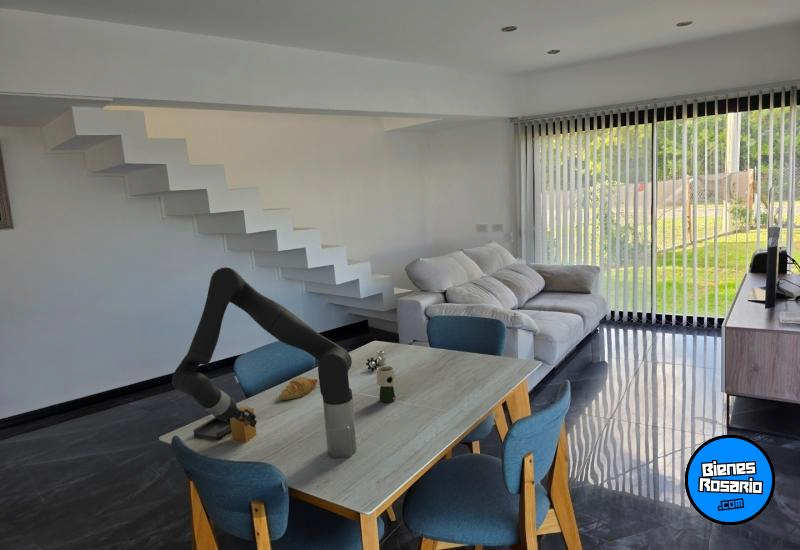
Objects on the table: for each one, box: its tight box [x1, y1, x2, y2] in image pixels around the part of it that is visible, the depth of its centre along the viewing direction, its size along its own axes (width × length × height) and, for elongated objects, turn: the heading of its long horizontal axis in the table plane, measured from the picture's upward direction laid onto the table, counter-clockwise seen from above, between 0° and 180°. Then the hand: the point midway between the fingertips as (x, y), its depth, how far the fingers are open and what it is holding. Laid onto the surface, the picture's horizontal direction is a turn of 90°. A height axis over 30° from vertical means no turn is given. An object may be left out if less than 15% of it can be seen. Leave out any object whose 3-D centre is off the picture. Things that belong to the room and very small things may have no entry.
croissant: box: [277, 377, 318, 401], centre depth 229 cm, size 21×10×8 cm, turn 145°
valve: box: [365, 350, 387, 372], centre depth 257 cm, size 7×7×12 cm
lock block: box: [230, 406, 257, 444], centre depth 188 cm, size 6×6×10 cm
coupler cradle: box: [193, 416, 232, 441], centre depth 197 cm, size 15×11×7 cm
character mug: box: [376, 365, 396, 403], centre depth 214 cm, size 11×7×13 cm, turn 147°
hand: (244, 423), depth 189 cm, fingers open, 8 cm apart
